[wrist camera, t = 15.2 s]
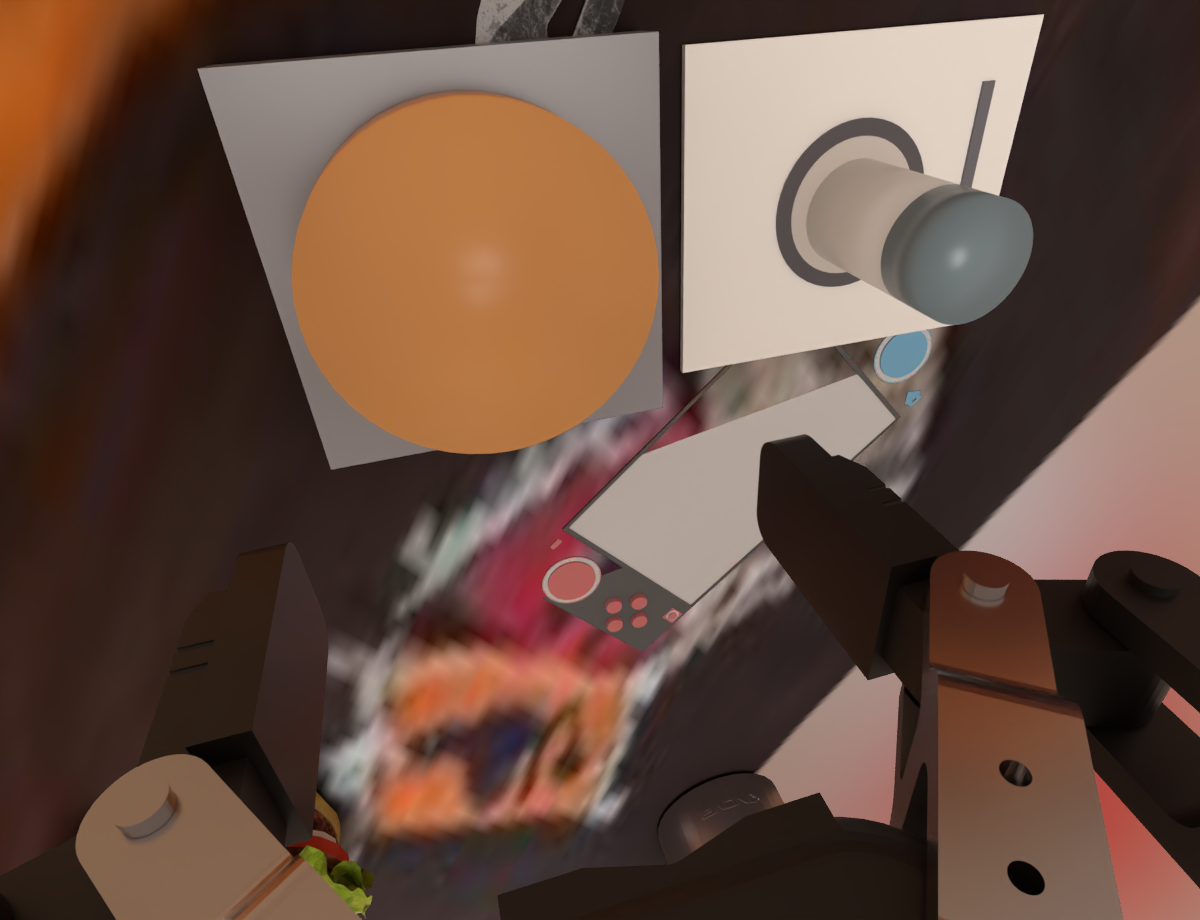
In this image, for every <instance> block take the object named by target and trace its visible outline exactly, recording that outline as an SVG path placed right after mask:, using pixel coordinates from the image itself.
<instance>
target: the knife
mask: <svg viewBox="0 0 1200 920" xmlns="http://www.w3.org/2000/svg"><path fill="white" fill-rule="evenodd" d="M560 2H561V0H481V4H480V8H479V12H478V16H477V26H476V41H475V44H479V43H492V42H504V41H517V40H530V39H542V38H549V37H548V34H547V25H548V22H549V21H550V19H551V17H552V16H553V14H554V12H555V10H556V9H557V7H558V5H559V4H560ZM624 2H625V0H584V3H583V6H582V9H581V12H580V14H579V17H578V20H577V23H576V25H575V28H574V31H573V34H572V36H580V35H593V34H606V33H612V32H613V30H614V27H615V25H616V22H617V20H618V17H619V14H620V12H621V9H622V7H623V4H624Z"/></svg>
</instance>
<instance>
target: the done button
mask: <svg viewBox="0 0 1200 920" xmlns="http://www.w3.org/2000/svg"><path fill="white" fill-rule="evenodd" d="M658 284H659V267H658V254H657V248H656V243H655V238H654V234H653V229H652V226H651V223H650V221H649V218H648V215H647V212H646V209H645V207H644V205H643V203H642V201H641V199H640V197H639V195H638V193H637V191H636V189H635V187H634V185H633V184H632V182H631V181H630V180H629V178H628V177H627V175H626V174H625V172H624V171H623V169H622V168H621V167H620V165H619V164H618V163H617V162H616V161H615V160H614V159H613V158H612V157H611V156H610V154H609V153H608V152H607V151H606V150H605V149H604V148H603V147H602V146H601V145H599V144H598V143H597V142H596V141H595V140H593V139H592V138H591V137H590V136H589V135H587V134H586V133H585V132H584V131H582V130H580V129H579V128H577V127H576V126H574V125H572V124H571V123H569V122H568V121H566V120H564V119H563V118H561V117H559V116H557V115H555V114H554V113H552V112H550V111H548V110H546V109H544V108H542V107H539V106H537V105H535V104H532V103H530V102H528V101H526V100H522V99H519V98H515V97H512V96H508V95H504V94H501V93H493V92H485V91H478V90H463V91H446V92H440V93H434V94H428V95H424V96H420V97H417V98H414V99H411V100H408V101H405V102H402V103H400V104H398V105H396V106H394V107H392V108H390V109H388V110H386V111H384V112H382V113H380V114H378V115H377V116H375V117H374V118H372V119H371V120H370V121H368V122H367V123H365V124H364V125H363V126H361V127H360V128H358V129H357V130H356V131H355V132H354V133H353V134H352V135H351V136H350V137H349V138H348V139H347V140H346V141H345V142H344V143H343V144H342V145H341V146H340V147H339V148H338V149H337V151H336V152H335V153H334V155H333V156H332V157H331V158H330V160H329V161H328V162H327V164H326V165H325V166H324V168H323V170H322V172H321V174H320V176H319V178H318V179H317V181H316V183H315V185H314V187H313V189H312V191H311V194H310V196H309V199H308V201H307V204H306V206H305V209H304V212H303V215H302V217H301V220H300V223H299V226H298V229H297V234H296V239H295V244H294V249H293V258H292V289H293V299H294V306H295V310H296V314H297V318H298V322H299V326H300V329H301V332H302V334H303V337H304V339H305V342H306V345H307V347H308V350H309V351H310V353H311V355H312V357H313V359H314V360H315V362H316V364H317V366H318V367H319V369H320V371H321V372H322V374H323V375H324V376H325V378H326V379H327V380H328V382H329V383H330V384H331V386H332V387H333V388H334V390H335V391H336V392H337V393H338V394H339V395H340V396H341V397H342V398H343V399H344V400H345V401H346V402H347V403H348V404H349V405H350V406H351V407H352V408H354V409H355V410H356V411H357V412H359V413H360V414H361V415H362V416H364V417H365V418H366V419H367V420H369V421H370V422H372V423H374V424H375V425H377V426H379V427H380V428H382V429H383V430H385V431H387V432H389V433H391V434H393V435H395V436H397V437H399V438H402V439H404V440H406V441H408V442H411V443H415V444H418V445H421V446H424V447H427V448H431V449H436V450H441V451H446V452H452V453H464V454H492V453H499V452H507V451H513V450H517V449H521V448H525V447H529V446H533V445H535V444H538V443H541V442H543V441H546V440H549V439H551V438H553V437H555V436H557V435H559V434H561V433H563V432H565V431H567V430H569V429H571V428H572V427H574V426H575V425H577V424H579V423H580V422H582V421H583V420H585V419H586V418H587V417H589V416H590V415H591V414H592V413H594V412H595V411H596V410H597V409H598V408H600V407H601V406H602V405H603V404H604V403H605V402H606V401H607V400H608V399H609V398H610V397H611V396H612V395H613V394H614V393H615V392H616V390H617V389H618V388H619V387H620V385H621V384H622V383H623V381H624V380H625V379H626V377H627V376H628V375H629V373H630V372H631V370H632V368H633V367H634V365H635V363H636V361H637V360H638V358H639V356H640V354H641V352H642V350H643V347H644V345H645V343H646V341H647V338H648V336H649V332H650V329H651V326H652V323H653V319H654V315H655V310H656V304H657V298H658Z"/></svg>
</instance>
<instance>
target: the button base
mask: <svg viewBox="0 0 1200 920" xmlns="http://www.w3.org/2000/svg"><path fill="white" fill-rule="evenodd" d="M198 72H199V75H200V78H201V81H202V84H203V87H204V90H205V93H206V96H207V99H208V102H209V105H210V108H211V111H212V114H213V117H214V120H215V123H216V126H217V129H218V132H219V135H220V138H221V141H222V144H223V147H224V150H225V153H226V156H227V159H228V162H229V165H230V168H231V171H232V174H233V177H234V180H235V183H236V186H237V189H238V192H239V195H240V198H241V201H242V204H243V207H244V210H245V213H246V216H247V219H248V222H249V225H250V228H251V231H252V234H253V237H254V240H255V243H256V246H257V249H258V252H259V255H260V258H261V261H262V264H263V267H264V270H265V273H266V276H267V279H268V282H269V285H270V288H271V291H272V294H273V297H274V300H275V303H276V306H277V309H278V312H279V315H280V318H281V321H282V324H283V327H284V330H285V333H286V336H287V339H288V342H289V345H290V348H291V351H292V354H293V357H294V360H295V363H296V366H297V369H298V372H299V375H300V378H301V381H302V384H303V387H304V390H305V393H306V396H307V399H308V402H309V405H310V408H311V411H312V414H313V417H314V420H315V423H316V426H317V429H318V432H319V435H320V438H321V441H322V444H323V447H324V450H325V453H326V456H327V459H328V462H329V465H330V468H331V470H332V469H337V468H343V467H348V466H353V465H359V464H364V463H369V462H375V461H380V460H385V459H391V458H396V457H402V456H407V455H412V454H418V453H423V452H428V451H434V450H436V449H431V448H427V447H424V446H421V445H418V444H415V443H411V442H408V441H406V440H404V439H402V438H399V437H397V436H395V435H393V434H391V433H389V432H387V431H385V430H383V429H382V428H380V427H379V426H377V425H375V424H374V423H372V422H370V421H369V420H367V419H366V418H365V417H364V416H362V415H361V414H360V413H359V412H357V411H356V410H355V409H354V408H352V407H351V406H350V405H349V404H348V403H347V402H346V401H345V400H344V399H343V398H342V397H341V396H340V395H339V394H338V393H337V392H336V391H335V390H334V388H333V387H332V386H331V384H330V383H329V382H328V380H327V379H326V378H325V376H324V375H323V374H322V372H321V371H320V369H319V367H318V366H317V364H316V362H315V360H314V359H313V357H312V355H311V353H310V351H309V350H308V347H307V345H306V342H305V339H304V337H303V334H302V332H301V329H300V326H299V322H298V318H297V314H296V310H295V306H294V299H293V289H292V258H293V249H294V244H295V239H296V234H297V229H298V226H299V223H300V220H301V217H302V215H303V212H304V209H305V206H306V204H307V201H308V199H309V196H310V194H311V191H312V189H313V187H314V185H315V183H316V181H317V179H318V178H319V176H320V174H321V172H322V170H323V168H324V166H325V165H326V164H327V162H328V161H329V160H330V158H331V157H332V156H333V155H334V153H335V152H336V151H337V149H338V148H339V147H340V146H341V145H342V144H343V143H344V142H345V141H346V140H347V139H348V138H349V137H350V136H351V135H352V134H353V133H354V132H355V131H356V130H357V129H358V128H360V127H361V126H363V125H364V124H365V123H367V122H368V121H370V120H371V119H372V118H374V117H375V116H377V115H378V114H380V113H382V112H384V111H386V110H388V109H390V108H392V107H394V106H396V105H398V104H400V103H402V102H405V101H408V100H411V99H414V98H417V97H420V96H424V95H428V94H434V93H440V92H446V91H463V90H478V91H485V92H493V93H501V94H504V95H508V96H512V97H515V98H519V99H522V100H526V101H528V102H530V103H532V104H535V105H537V106H539V107H542V108H544V109H546V110H548V111H550V112H552V113H554V114H555V115H557V116H559V117H561V118H563V119H564V120H566V121H568V122H569V123H571V124H572V125H574V126H576V127H577V128H579V129H580V130H582V131H584V132H585V133H586V134H587V135H589V136H590V137H591V138H592V139H593V140H595V141H596V142H597V143H598V144H599V145H601V146H602V147H603V148H604V149H605V150H606V151H607V152H608V153H609V154H610V156H611V157H612V158H613V159H614V160H615V161H616V162H617V163H618V164H619V165H620V167H621V168H622V169H623V171H624V172H625V174H626V175H627V177H628V178H629V180H630V181H631V182H632V184H633V185H634V187H635V189H636V191H637V193H638V195H639V197H640V199H641V201H642V203H643V205H644V207H645V209H646V212H647V215H648V218H649V221H650V223H651V226H652V229H653V234H654V238H655V243H656V248H657V254H658V267H659V284H658V298H657V304H656V310H655V315H654V319H653V323H652V326H651V329H650V332H649V336H648V338H647V341H646V343H645V345H644V347H643V350H642V352H641V354H640V356H639V358H638V360H637V361H636V363H635V365H634V367H633V368H632V370H631V372H630V373H629V375H628V376H627V377H626V379H625V380H624V381H623V383H622V384H621V385H620V387H619V388H618V389H617V390H616V392H615V393H614V394H613V395H612V396H611V397H610V398H609V399H608V400H607V401H606V402H605V403H604V404H603V405H602V406H601V407H600V408H598V409H597V410H596V411H595V412H594V413H592V414H591V415H590V416H589V417H587V418H586V419H585V420H583V421H582V422H580V423H584V422H589V421H595V420H600V419H605V418H611V417H616V416H621V415H627V414H632V413H637V412H643V411H648V410H653V409H659V408H663V383H662V289H661V196H660V102H659V32H656V31H629V32H616V33H606V34H593V35H580V36H566V37H554V38H542V39H530V40H517V41H504V42H492V43H479V44H466V45H454V46H441V47H429V48H416V49H404V50H391V51H379V52H366V53H354V54H341V55H329V56H316V57H304V58H291V59H279V60H266V61H254V62H241V63H229V64H216V65H210V66H206V67H203V68H199V69H198Z"/></svg>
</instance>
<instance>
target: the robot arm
mask: <svg viewBox="0 0 1200 920" xmlns="http://www.w3.org/2000/svg"><path fill="white" fill-rule="evenodd" d="M757 522H758V527H759V530H760V533H761V536H762V538H763V540H764V542H765V544H766V545H767V547H768V548H769V550H770V551H771V552H772V554H773V555H774V556H775V558H776V559H777V560H778V561H779V563H780V564H781V565H782V567H783V568H784V569H785V571H786V572H787V573H788V575H789V576H790V577H791V579H792V580H793V581H794V583H795V584H796V585H797V587H798V588H799V589H800V591H801V592H802V593H803V595H804V596H805V597H806V599H807V600H808V601H809V603H810V604H811V605H812V607H813V608H814V609H815V611H816V612H817V613H818V615H819V616H820V617H821V619H822V620H823V621H824V623H825V624H826V625H827V627H828V628H829V629H830V631H831V632H832V633H833V635H834V636H835V637H836V639H837V640H838V641H839V642H840V644H841V645H842V646H843V648H844V649H845V650H846V652H847V653H848V654H849V656H850V657H851V658H852V660H853V661H854V662H855V664H856V665H857V666H858V668H859V669H860V670H861V672H862V673H863V674H864V676H865V677H866V678H867V680H870V679H874V678H877V677H881V676H884V675H888V674H891V673H895V674H896V675H897V677H898V678H899V679H900V680H901V682H902V687H901V691H900V696H899V711H898V730H897V748H896V767H895V785H894V798H893V808H892V814H891V820H890V825H886V824H884V823H879V822H875V821H870V820H865V819H858V818H847V817H833V815H832V813H831V811H830V810H829V808H828V806H827V805H826V803H825V801H824V799H823V798H822V796H821V794H820V793H817V794H814V795H810V796H808V797H804V798H801V799H798V800H795V801H792V802H788V803H786V804H784V803H783V801H782V799H781V797H780V795H779V793H778V791H777V789H776V787H775V785H774V784H773V782H772V781H771V780H769V779H768V778H766V777H765V776H761V775H758V774H750V773H742V774H732V775H728V776H724V777H720V778H717V779H714V780H711V781H709V782H706V783H704V784H702V785H700V786H698V787H696V788H694V789H693V790H691V791H689V792H688V793H686V794H685V795H683V796H682V797H681V798H680V799H678V800H677V801H676V802H675V803H674V804H673V805H672V806H671V807H670V808H669V809H668V810H667V811H666V812H665V814H664V816H663V817H662V819H661V821H660V824H659V827H658V837H659V840H660V843H661V846H662V849H663V852H664V855H665V858H666V861H667V864H668V865H652V866H627V867H603V868H582V869H579V870H575V871H572V872H569V873H566V874H563V875H560V876H557V877H553V878H550V879H547V880H544V881H541V882H538V883H535V884H532V885H528V886H525V887H522V888H519V889H516V890H513V891H510V892H506V893H503V894H500V895H498V902H499V909H500V917H501V920H1123V915H1122V910H1121V905H1120V900H1119V895H1118V890H1117V885H1116V880H1115V875H1114V870H1113V865H1112V860H1111V855H1110V850H1109V845H1108V840H1107V835H1106V830H1105V825H1104V819H1103V814H1102V809H1101V804H1100V799H1099V794H1098V789H1097V784H1096V779H1095V775H1094V770H1095V772H1096V773H1097V774H1098V775H1099V776H1100V777H1101V778H1102V779H1103V781H1105V783H1106V784H1107V785H1108V786H1109V787H1110V788H1111V789H1112V791H1113V792H1114V793H1115V794H1116V795H1117V796H1118V797H1119V798H1120V800H1121V801H1122V802H1123V803H1124V804H1125V805H1126V806H1127V807H1128V809H1129V810H1130V811H1131V812H1132V813H1133V814H1134V815H1135V816H1136V818H1138V820H1139V821H1140V822H1141V823H1142V824H1143V825H1144V826H1145V828H1146V829H1147V830H1148V831H1149V832H1150V833H1151V834H1152V835H1153V837H1154V838H1155V839H1156V840H1157V841H1158V842H1159V843H1160V844H1161V846H1163V848H1164V849H1165V850H1166V851H1167V852H1168V853H1169V854H1170V855H1171V857H1172V858H1173V859H1174V860H1175V861H1176V862H1177V863H1178V865H1179V866H1180V867H1181V868H1182V869H1183V870H1184V871H1185V872H1186V874H1187V875H1188V876H1189V877H1190V878H1191V879H1192V880H1193V881H1194V882H1195V884H1196V885H1197V886H1198V887H1199V888H1200V737H1199V736H1198V735H1197V734H1196V733H1194V732H1193V731H1192V730H1191V729H1190V728H1189V727H1188V726H1187V725H1186V724H1185V723H1184V722H1183V721H1181V720H1180V719H1179V718H1178V717H1177V716H1176V715H1175V714H1174V713H1173V712H1172V711H1171V710H1169V709H1168V708H1167V707H1166V706H1165V705H1164V704H1163V703H1162V701H1163V700H1164V698H1165V696H1166V694H1167V692H1168V691H1169V689H1170V687H1171V688H1173V689H1174V690H1175V691H1176V692H1177V693H1178V694H1179V695H1180V696H1182V697H1183V698H1184V699H1185V700H1186V701H1187V702H1188V703H1189V704H1191V705H1192V706H1193V707H1194V708H1195V709H1196V710H1197V711H1198V712H1199V713H1200V577H1199V576H1198V575H1197V574H1195V573H1194V572H1192V571H1191V570H1189V569H1188V568H1186V567H1184V566H1182V565H1180V564H1178V563H1176V562H1173V561H1171V560H1169V559H1166V558H1163V557H1160V556H1157V555H1153V554H1149V553H1144V552H1138V551H1114V552H1110V553H1107V554H1104V555H1102V556H1100V557H1099V558H1098V559H1097V560H1096V561H1095V563H1094V565H1093V567H1092V569H1091V572H1090V574H1089V577H1088V579H1087V580H1033V578H1032V577H1031V576H1030V575H1029V574H1028V573H1027V572H1025V571H1024V570H1023V569H1022V568H1020V567H1019V566H1017V565H1015V564H1014V563H1012V562H1010V561H1008V560H1006V559H1003V558H1001V557H998V556H995V555H992V554H988V553H984V552H977V551H959V550H958V549H957V548H956V547H955V546H954V545H952V544H951V543H950V542H949V541H948V540H947V539H946V538H945V537H943V536H942V535H941V534H940V533H939V532H938V531H937V530H936V529H935V528H933V527H932V526H931V525H930V524H929V523H928V522H927V521H926V520H924V519H923V518H922V517H921V516H920V515H919V514H918V513H917V512H916V511H914V510H913V509H912V508H911V507H910V506H909V505H908V504H907V503H905V502H903V503H902V502H901V498H900V497H899V496H898V495H897V494H895V493H894V492H893V491H892V490H891V489H890V488H886V487H885V484H884V483H883V482H882V481H881V480H880V479H879V478H877V477H876V476H875V475H874V474H873V473H872V472H871V471H870V470H869V469H867V468H866V467H864V466H862V465H860V464H858V463H856V462H854V461H851V460H849V459H847V458H845V457H843V456H841V455H836V456H831V455H830V454H829V453H828V452H827V451H826V450H824V449H823V448H822V447H821V446H820V445H819V444H818V443H817V442H816V441H815V440H814V439H813V438H812V437H810V436H809V435H807V434H802V435H798V436H793V437H788V438H784V439H779V440H774V441H770V442H766V443H764V444H763V446H762V448H761V452H760V465H759V481H758V497H757ZM177 650H178V653H177V654H175V655H174V658H173V661H172V664H171V667H170V670H169V672H170V677H167V680H166V683H165V686H164V689H163V692H162V695H161V698H160V701H159V704H158V707H157V710H156V713H155V716H154V719H153V722H152V725H151V728H150V731H149V734H148V737H147V740H146V743H145V746H144V749H143V752H142V755H141V758H140V761H139V764H138V767H137V768H135V769H133V770H131V771H130V772H128V773H127V774H125V775H124V776H122V777H121V778H119V779H118V780H117V781H116V782H114V783H113V784H112V785H111V786H110V787H109V788H108V789H107V790H106V791H104V792H103V793H102V794H101V795H100V797H99V798H98V799H97V800H96V801H95V802H94V804H93V805H92V806H91V808H90V809H89V811H88V812H87V814H86V815H85V817H84V819H83V821H82V823H81V825H80V828H79V830H78V833H77V835H76V836H74V837H72V838H71V839H69V840H67V841H66V842H64V843H62V844H60V845H59V846H57V847H55V848H53V849H51V850H49V851H47V852H45V853H43V854H41V855H40V856H38V857H36V858H34V859H32V860H30V861H28V862H26V863H24V864H22V865H20V866H19V867H17V868H15V869H13V870H11V871H9V872H7V873H5V874H3V875H1V876H0V920H362V919H361V918H360V917H359V916H358V915H357V914H356V913H355V912H354V911H353V910H352V909H351V908H350V907H349V906H348V904H347V903H346V902H345V901H344V900H343V899H342V898H341V897H340V896H339V895H338V894H337V893H336V892H335V891H334V889H333V888H332V887H331V886H330V885H329V884H328V883H327V882H326V881H325V880H324V879H323V878H322V877H321V876H320V874H319V873H318V872H317V871H316V870H315V869H314V868H313V867H312V866H311V865H310V864H309V863H308V862H307V861H306V860H305V859H304V858H302V857H301V856H300V855H298V854H296V855H295V856H294V857H293V856H292V855H291V854H290V853H289V852H288V851H287V850H286V849H285V847H286V846H290V845H293V844H297V843H300V842H304V841H307V840H311V839H312V835H313V824H314V812H315V800H316V788H317V777H318V765H319V753H320V741H321V730H322V718H323V706H324V695H325V683H326V671H327V659H328V635H327V628H326V623H325V619H324V616H323V613H322V610H321V607H320V605H319V602H318V600H317V597H316V595H315V593H314V590H313V588H312V585H311V583H310V580H309V578H308V575H307V573H306V570H305V568H304V565H303V563H302V560H301V558H300V555H299V553H298V551H297V549H296V547H295V546H294V545H293V544H292V543H286V544H281V545H276V546H272V547H267V548H262V549H258V550H253V551H248V552H244V553H240V554H239V555H238V557H237V560H236V563H235V567H234V571H233V574H232V578H231V582H230V585H229V589H225V590H220V591H216V592H211V593H208V595H207V596H206V597H205V598H204V599H203V601H202V602H201V603H200V604H199V605H198V607H197V608H196V609H195V610H194V611H193V613H192V614H191V615H190V616H189V618H188V619H187V620H186V622H185V625H184V628H183V631H182V634H181V637H180V640H179V643H178V646H177Z"/></svg>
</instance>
